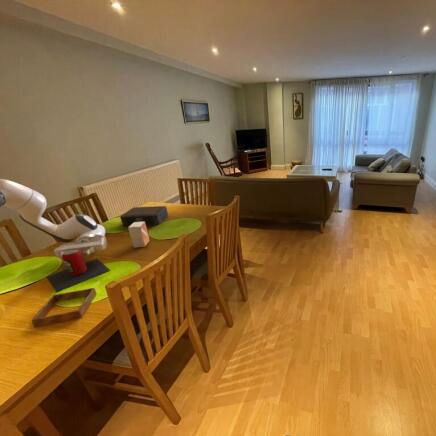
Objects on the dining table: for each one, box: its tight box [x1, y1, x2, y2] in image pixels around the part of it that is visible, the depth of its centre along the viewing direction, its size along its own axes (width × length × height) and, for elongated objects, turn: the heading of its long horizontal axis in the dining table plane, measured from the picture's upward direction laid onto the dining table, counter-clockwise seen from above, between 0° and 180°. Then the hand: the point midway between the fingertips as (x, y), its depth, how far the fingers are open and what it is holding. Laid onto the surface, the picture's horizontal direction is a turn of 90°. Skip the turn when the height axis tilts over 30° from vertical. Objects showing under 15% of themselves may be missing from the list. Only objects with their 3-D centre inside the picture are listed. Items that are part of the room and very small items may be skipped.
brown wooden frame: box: [31, 287, 98, 328], centre depth 94 cm, size 14×14×3 cm
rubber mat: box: [46, 258, 111, 293], centre depth 116 cm, size 20×18×1 cm
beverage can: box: [61, 249, 87, 276], centre depth 114 cm, size 7×7×12 cm
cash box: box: [120, 205, 169, 227], centre depth 176 cm, size 25×20×8 cm
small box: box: [127, 222, 150, 248], centre depth 141 cm, size 8×6×13 cm
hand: (74, 255), depth 114 cm, fingers open, 8 cm apart
